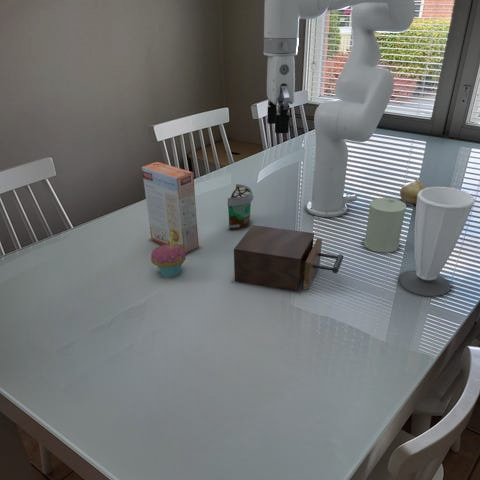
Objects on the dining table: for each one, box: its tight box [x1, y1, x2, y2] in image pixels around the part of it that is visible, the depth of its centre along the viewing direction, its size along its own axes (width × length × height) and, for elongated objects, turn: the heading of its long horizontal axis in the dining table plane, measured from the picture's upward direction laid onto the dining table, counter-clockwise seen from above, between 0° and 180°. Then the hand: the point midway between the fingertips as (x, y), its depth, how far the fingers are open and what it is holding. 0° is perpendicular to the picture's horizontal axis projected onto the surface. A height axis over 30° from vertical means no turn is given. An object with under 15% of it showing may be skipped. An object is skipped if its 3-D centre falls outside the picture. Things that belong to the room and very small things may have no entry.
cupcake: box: [150, 229, 187, 278], centre depth 116 cm, size 9×8×12 cm
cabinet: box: [233, 224, 315, 293], centre depth 116 cm, size 16×14×9 cm
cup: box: [399, 186, 476, 298], centre depth 107 cm, size 12×12×22 cm
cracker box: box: [141, 161, 200, 254], centre depth 126 cm, size 14×6×21 cm, turn 47°
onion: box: [399, 178, 426, 205], centre depth 151 cm, size 8×8×7 cm
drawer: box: [300, 238, 344, 290], centre depth 114 cm, size 20×13×7 cm, turn 70°
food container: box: [227, 183, 254, 231], centre depth 139 cm, size 12×6×10 cm, turn 168°
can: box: [363, 197, 407, 253], centre depth 126 cm, size 9×9×12 cm
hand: (277, 128), depth 116 cm, fingers open, 9 cm apart
